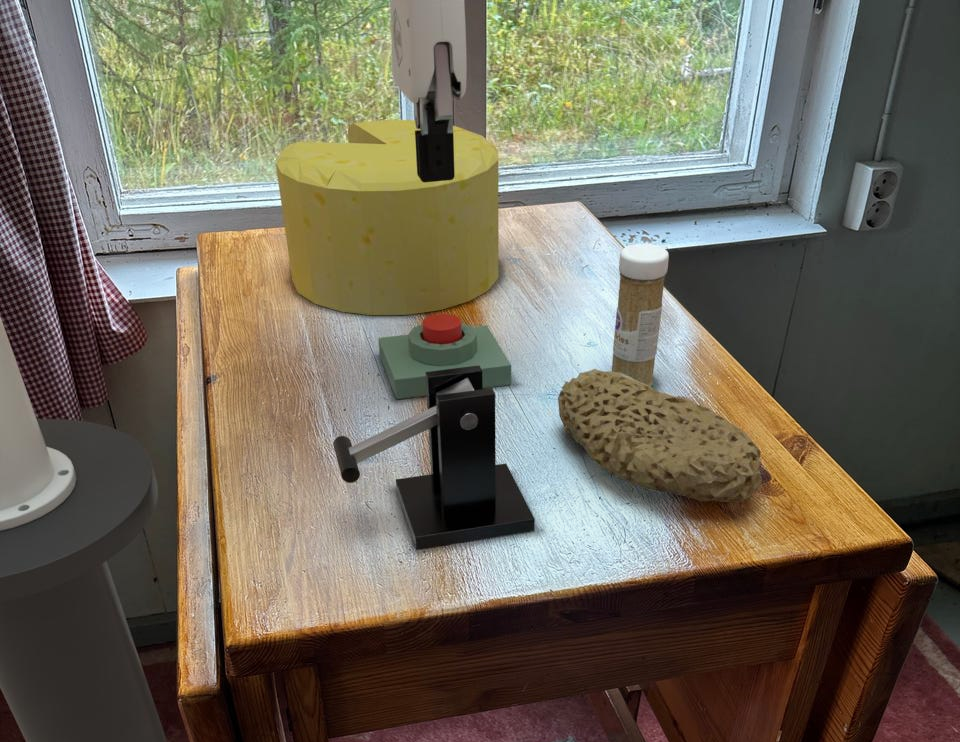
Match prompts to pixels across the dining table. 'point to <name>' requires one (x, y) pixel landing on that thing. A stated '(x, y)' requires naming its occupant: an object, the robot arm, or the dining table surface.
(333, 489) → the dining table surface
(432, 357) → the button box
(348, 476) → the lever
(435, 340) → the button
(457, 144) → the cheese
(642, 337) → the sprinkles bottle
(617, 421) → the sponge
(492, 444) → the bracket
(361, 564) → the dining table surface
